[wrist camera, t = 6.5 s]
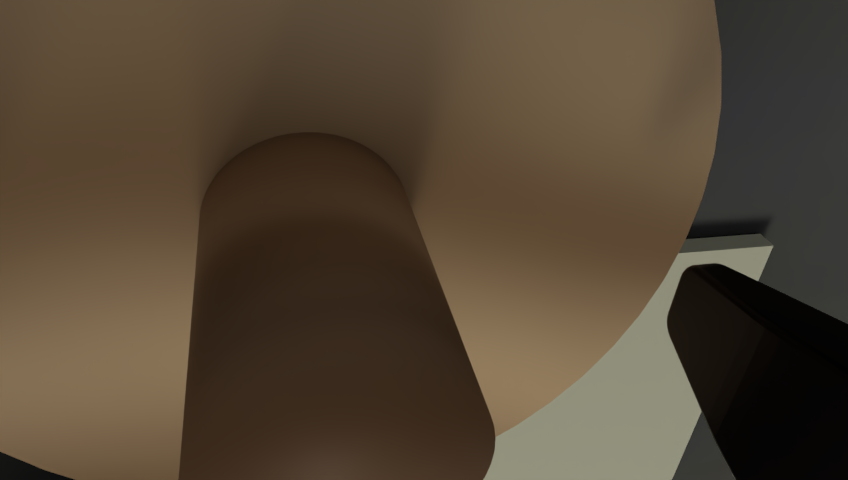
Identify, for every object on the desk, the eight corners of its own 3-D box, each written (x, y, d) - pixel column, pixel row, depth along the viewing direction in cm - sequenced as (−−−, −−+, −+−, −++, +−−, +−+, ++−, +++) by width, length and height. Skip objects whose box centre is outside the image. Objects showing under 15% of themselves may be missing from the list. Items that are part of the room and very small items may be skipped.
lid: (592, 406, 15) (728, 658, 11) (-23, 490, 12) (-152, 861, 8) (794, -288, 8) (1370, -327, 4) (-477, -418, 6) (-2495, -897, 1)
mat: (639, 524, 27) (646, 538, 27) (280, 586, 24) (281, 603, 24) (759, 233, 19) (773, 245, 19) (252, 272, 16) (252, 287, 16)
